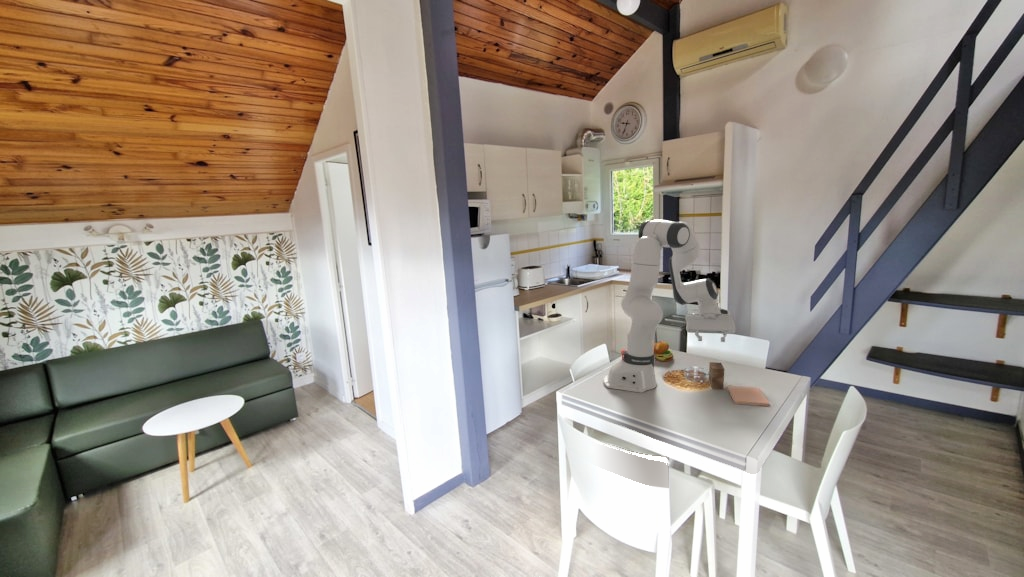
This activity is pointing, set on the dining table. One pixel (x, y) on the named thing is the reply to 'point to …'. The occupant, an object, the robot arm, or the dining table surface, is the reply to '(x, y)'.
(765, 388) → the dining table surface
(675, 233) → the robot arm
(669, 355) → the cheeseburger
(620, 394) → the dining table surface
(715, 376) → the card box
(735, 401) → the mat
